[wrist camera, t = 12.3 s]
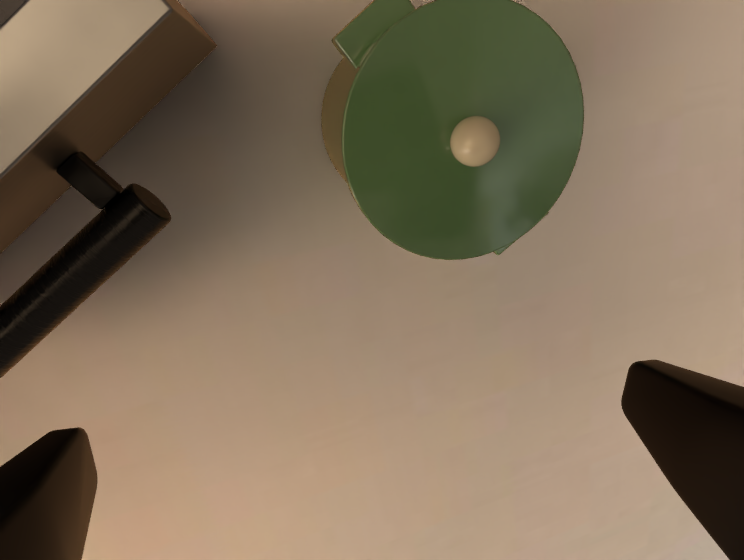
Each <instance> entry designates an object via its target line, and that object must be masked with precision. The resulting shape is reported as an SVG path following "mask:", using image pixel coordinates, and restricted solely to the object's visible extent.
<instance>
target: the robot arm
mask: <svg viewBox="0 0 744 560" xmlns="http://www.w3.org/2000/svg"><path fill="white" fill-rule="evenodd" d="M621 405H622V409H623V412H624V414H625V416H626V417H627V419H628V420H629V422H630V423H631V425H632V427H633V428H634V430H635V431H636V433H637V434H638V436H639V437H640V439H641V440H642V442H643V443H644V445H645V446H646V448H647V449H648V451H649V452H650V454H651V455H652V457H653V458H654V460H655V461H656V463H657V464H658V466H659V468H660V469H661V471H662V472H663V474H664V475H665V477H666V478H667V479H668V481H669V482H670V484H671V485H672V487H673V488H674V489H675V491H676V492H677V493H678V495H679V496H680V497H681V499H682V500H683V501H684V503H685V504H686V505H687V506H688V508H689V509H690V510H691V512H692V513H693V514H694V515H695V517H696V518H697V519H698V520H699V522H700V523H701V524H702V525H703V527H704V528H705V529H706V531H707V532H708V533H709V534H710V536H711V537H712V538H713V539H714V541H715V542H716V543H717V544H718V546H719V547H720V548H721V550H722V551H723V552H724V553H725V555H726V556H727V557H728V558H729V560H744V387H742V386H739V385H735V384H732V383H729V382H726V381H723V380H719V379H716V378H713V377H710V376H707V375H704V374H700V373H697V372H694V371H691V370H688V369H684V368H681V367H678V366H675V365H672V364H668V363H665V362H662V361H659V360H646V361H637V362H635V363H633V364H632V365H631V366H630V367H629V370H628V374H627V378H626V382H625V387H624V391H623V395H622V400H621ZM96 489H97V471H96V467H95V463H94V459H93V455H92V451H91V447H90V443H89V439H88V435H87V433H86V432H85V430H84V429H82V428H79V427H78V428H69V429H60V430H53V431H50V432H49V433H47V434H46V435H44V436H43V437H41V438H40V439H39V440H37V441H36V442H34V443H33V444H32V445H30V446H29V447H27V448H26V449H25V450H23V451H22V452H20V453H19V454H18V455H16V456H15V457H13V458H12V459H11V460H9V461H8V462H6V463H5V464H4V465H2V466H1V467H0V560H81V559H82V555H83V550H84V545H85V541H86V536H87V531H88V527H89V522H90V517H91V513H92V508H93V503H94V499H95V494H96Z"/></svg>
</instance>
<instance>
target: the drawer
mask: <svg viewBox="0 0 744 560" xmlns="http://www.w3.org/2000/svg"><path fill="white" fill-rule="evenodd" d="M216 47H217V44H216V43H215V42H214V41H213V40H212V39H211V37H210V36H209V35H208V34H207V33H206V32H205V31H204V29H203V28H202V27H201V26H200V25H199V24H198V23H197V21H196V20H195V19H194V18H193V17H192V16H191V14H190V13H189V12H188V11H187V10H186V9H185V8H184V7H183V6H182V5H181V4H180V3H179V2H178V1H177V0H0V254H1V253H2V252H3V251H4V250H5V249H6V248H7V247H8V246H9V245H10V244H11V243H12V242H13V241H14V240H15V239H16V238H17V237H18V236H19V235H21V234H22V233H23V232H24V231H25V230H26V229H27V228H28V227H29V226H30V225H31V224H32V223H33V222H34V221H35V220H36V219H37V218H38V217H39V216H40V215H41V214H42V213H44V212H45V211H46V210H47V209H48V208H49V207H50V206H51V205H52V204H53V203H54V202H55V201H56V200H57V199H58V198H59V197H60V196H61V195H62V194H63V193H64V192H66V191H67V190H68V189H69V188H70V187H71V186H73V187H74V188H75V189H76V190H78V191H79V192H80V193H81V194H82V195H83V196H85V197H86V198H87V199H88V200H89V201H91V202H92V203H93V204H94V205H95V206H96V207H98V208H99V209H103V210H102V211H101V212H100V213H99V214H98V215H97V216H96V217H94V218H93V219H92V220H91V221H90V222H89V223H88V224H87V225H86V226H85V227H84V228H83V229H82V230H81V231H80V232H79V233H77V234H76V235H75V236H74V237H73V238H72V239H71V240H70V241H69V242H68V243H67V244H66V245H65V246H64V247H63V248H62V249H60V250H59V251H58V252H57V253H56V254H55V255H54V256H53V257H52V258H51V259H50V260H49V261H48V262H47V263H46V264H45V265H43V266H42V267H41V268H40V269H39V270H38V271H37V272H36V273H35V274H34V275H33V276H32V277H31V278H30V279H29V280H28V281H27V282H25V283H24V284H23V285H22V286H21V287H20V288H19V289H18V290H17V291H16V292H15V293H14V294H13V295H12V296H11V297H10V298H8V299H7V300H6V301H5V302H4V303H3V304H2V305H1V306H0V378H1V377H3V376H4V375H5V374H6V373H7V372H8V371H9V370H10V369H11V368H12V367H13V366H15V365H16V364H17V363H18V362H19V361H20V360H21V359H22V358H23V357H24V356H25V355H26V354H28V353H29V352H30V351H31V350H32V349H33V348H34V347H35V346H36V345H37V344H38V343H39V342H41V341H42V340H43V339H44V338H45V337H46V336H47V335H48V334H49V333H50V332H51V331H52V330H54V329H55V328H56V327H57V326H58V325H59V324H60V323H61V322H62V321H63V320H64V319H65V318H67V317H68V316H69V315H70V314H71V313H72V312H73V311H74V310H75V309H76V308H77V307H78V306H80V305H81V304H82V303H83V302H84V301H85V300H86V299H87V298H88V297H89V296H90V295H91V294H93V293H94V292H95V291H96V290H97V289H98V288H99V287H100V286H101V285H102V284H103V283H104V282H106V281H107V280H108V279H109V278H110V277H111V276H112V275H113V274H114V273H115V272H116V271H117V270H119V269H120V268H121V267H122V266H123V265H124V264H125V263H126V262H127V261H128V260H129V259H130V258H132V257H133V256H134V255H135V254H136V253H137V252H138V251H139V250H140V249H141V248H142V247H143V246H145V245H146V244H147V243H148V242H149V241H150V240H151V239H152V238H153V237H154V236H155V235H156V234H158V233H159V232H160V231H161V230H162V229H163V228H164V227H165V226H166V225H167V224H168V223H169V222H170V221H171V215H170V213H169V211H168V209H167V208H166V207H165V205H164V204H163V203H162V202H161V201H160V200H159V199H158V198H157V197H156V196H155V195H154V194H153V193H151V192H150V191H149V190H147V189H146V188H144V187H142V186H140V185H138V184H130V185H128V186H127V187H126V188H125V189H124V190H123V188H122V186H121V185H119V184H118V183H117V182H116V181H115V180H114V179H113V178H112V177H110V176H109V175H108V174H107V173H106V172H105V171H104V170H103V169H101V168H100V167H99V166H98V165H97V164H96V162H97V161H98V160H99V159H100V158H101V157H102V156H103V155H104V154H105V153H106V152H107V151H108V150H109V149H110V148H112V147H113V146H114V145H115V144H116V143H117V142H118V141H119V140H120V139H121V138H122V137H123V136H124V135H125V134H126V133H127V132H128V131H129V130H130V129H131V128H132V127H133V126H135V125H136V124H137V123H138V122H139V121H140V120H141V119H142V118H143V117H144V116H145V115H146V114H147V113H148V112H149V111H150V110H151V109H152V108H153V107H154V106H155V105H156V104H158V103H159V102H160V101H161V100H162V99H163V98H164V97H165V96H166V95H167V94H168V93H169V92H170V91H171V90H172V89H173V88H174V87H175V86H176V85H177V84H178V83H180V82H181V81H182V80H183V79H184V78H185V77H186V76H187V75H188V74H189V73H190V72H191V71H192V70H193V69H194V68H195V67H196V66H197V65H198V64H199V63H200V62H201V61H203V60H204V59H205V58H206V57H207V56H208V55H209V54H210V53H211V52H212V51H213V50H214V49H215V48H216Z"/></svg>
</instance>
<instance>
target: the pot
mask: <svg viewBox="0 0 744 560" xmlns="http://www.w3.org/2000/svg"><path fill="white" fill-rule="evenodd" d="M332 43H333V44H334V46H335V47H336V48H337V50H338V51H339V52H340V54H341V55H342V56H343V59H342V60H341V61H340V63H339V64H338V66H337V67H336V69H335V70H334V72H333V74H332V76H331V78H330V80H329V83H328V85H327V88H326V91H325V95H324V99H323V104H322V112H321V127H322V134H323V140H324V144H325V147H326V150H327V153H328V155H329V158H330V160H331V162H332V164H333V165H334V167H335V169H336V170H337V172H338V173H339V174H340V176H341V177H342V178H343V179H344V180H345V182H346V183H347V185H348V187H349V190H350V192H351V194H352V196H353V198H354V200H355V201H356V203H357V205H358V207H359V208H360V210H361V211H362V212H363V214H364V215H365V216H366V218H367V219H368V220H369V221H370V223H371V224H372V225H373V226H374V227H375V228H376V229H377V230H378V231H379V232H380V233H381V234H382V235H383V236H385V237H386V238H387V239H389V240H390V241H391V242H393V243H394V244H396V245H398V246H400V247H401V248H403V249H405V250H407V251H410V252H412V253H415V254H418V255H420V256H425V257H429V258H434V259H444V260H458V259H467V258H473V257H478V256H482V255H485V254H488V253H491V252H494V253H495V254H496V255H500V254H501V253H502V252H503V251H504V250H506V249H507V248H508V247H509V246H510V245H511V244H513V243H514V242H515V241H516V240H517V239H519V238H520V237H521V236H523V235H524V234H525V233H527V232H528V231H529V230H531V229H532V228H533V227H534V226H535V225H536V224H537V223H538V222H539V221H540V220H541V219H542V218H543V217H545V216H546V215H547V214H548V213H549V212H548V211H549V210H550V209H551V208H552V206H553V205H554V204H555V202H556V201H557V199H558V198H559V196H560V195H561V193H562V191H563V190H564V188H565V186H566V184H567V182H568V180H569V178H570V176H571V173H572V171H573V169H574V166H575V163H576V160H577V157H578V153H579V150H580V145H581V140H582V134H583V122H584V106H583V95H582V89H581V83H580V79H579V76H578V73H577V70H576V66H575V64H574V62H573V60H572V57H571V55H570V53H569V51H568V49H567V48H566V46H565V45H564V43H563V41H562V40H561V38H560V37H559V36H558V35H557V33H556V32H555V31H554V30H553V29H552V27H551V26H550V25H549V24H548V23H547V22H545V21H544V20H543V19H542V18H541V17H540V16H538V15H537V14H536V13H535V12H533V11H531V10H530V9H528V8H526V7H525V6H523V5H521V4H519V3H517V2H514V1H512V0H435V1H432V2H430V3H427V4H425V5H423V6H420V7H418V8H416V9H415V8H414V6H413V5H412V3H411V2H410V0H373V1H372V2H371V3H370V4H369V5H367V6H366V7H365V8H364V9H363V10H362V11H361V12H360V13H359V14H358V15H357V16H356V17H355V18H354V19H352V20H351V21H350V22H349V23H348V24H347V25H346V26H345V27H344V28H343V29H342V30H341V31H340V32H339V33H337V34H336V35H335V36H334V37H333V38H332Z"/></svg>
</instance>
